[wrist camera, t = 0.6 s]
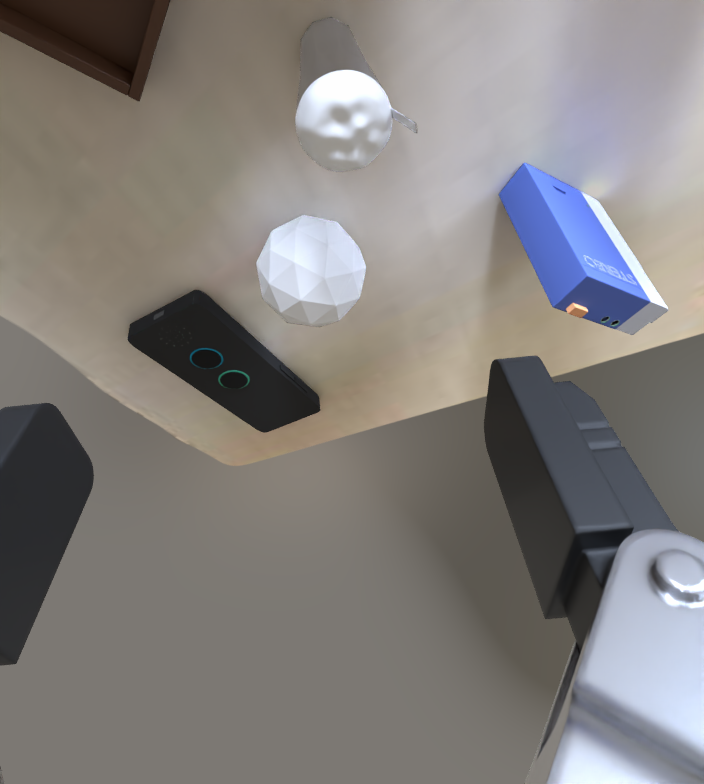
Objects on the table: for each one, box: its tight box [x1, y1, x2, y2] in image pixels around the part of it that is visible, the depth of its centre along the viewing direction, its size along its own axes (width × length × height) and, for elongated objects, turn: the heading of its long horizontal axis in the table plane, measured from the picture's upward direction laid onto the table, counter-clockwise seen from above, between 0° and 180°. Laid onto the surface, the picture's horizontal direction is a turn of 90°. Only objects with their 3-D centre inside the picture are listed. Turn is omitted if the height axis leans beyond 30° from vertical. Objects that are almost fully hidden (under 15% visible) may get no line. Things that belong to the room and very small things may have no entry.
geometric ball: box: [256, 215, 366, 327], centre depth 36 cm, size 8×8×8 cm
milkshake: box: [295, 17, 417, 172], centre depth 25 cm, size 5×5×10 cm
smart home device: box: [128, 290, 320, 432], centre depth 49 cm, size 8×2×20 cm
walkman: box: [499, 163, 668, 335], centre depth 34 cm, size 8×3×12 cm, turn 63°
